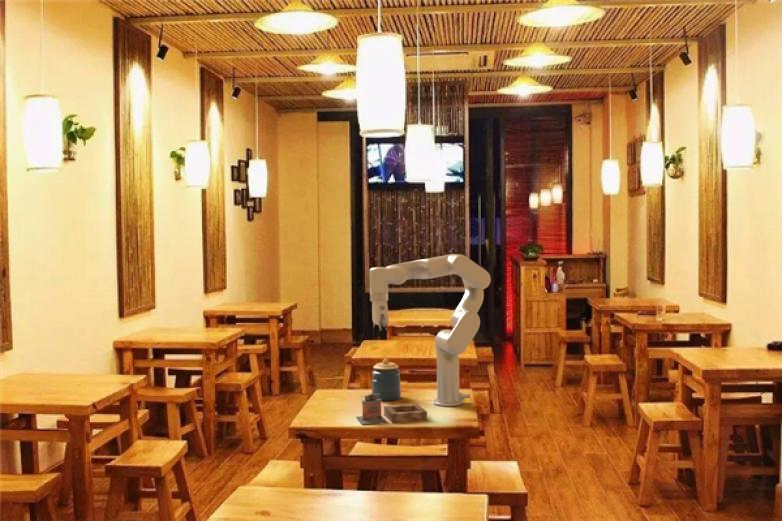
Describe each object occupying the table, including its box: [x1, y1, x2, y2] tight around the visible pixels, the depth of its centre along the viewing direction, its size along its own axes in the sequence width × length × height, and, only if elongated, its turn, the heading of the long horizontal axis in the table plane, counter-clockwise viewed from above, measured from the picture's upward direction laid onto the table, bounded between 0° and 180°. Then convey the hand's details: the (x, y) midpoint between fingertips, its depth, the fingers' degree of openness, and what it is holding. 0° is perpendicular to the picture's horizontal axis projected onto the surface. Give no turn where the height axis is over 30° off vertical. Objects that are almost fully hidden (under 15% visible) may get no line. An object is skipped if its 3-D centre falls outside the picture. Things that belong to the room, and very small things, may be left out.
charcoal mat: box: [355, 415, 388, 426], centre depth 328 cm, size 10×12×1 cm
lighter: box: [361, 393, 383, 421], centre depth 328 cm, size 8×3×10 cm, turn 114°
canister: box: [371, 358, 402, 402], centre depth 368 cm, size 13×13×18 cm
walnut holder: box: [383, 403, 428, 424], centre depth 332 cm, size 14×14×4 cm
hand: (380, 338), depth 345 cm, fingers open, 9 cm apart
